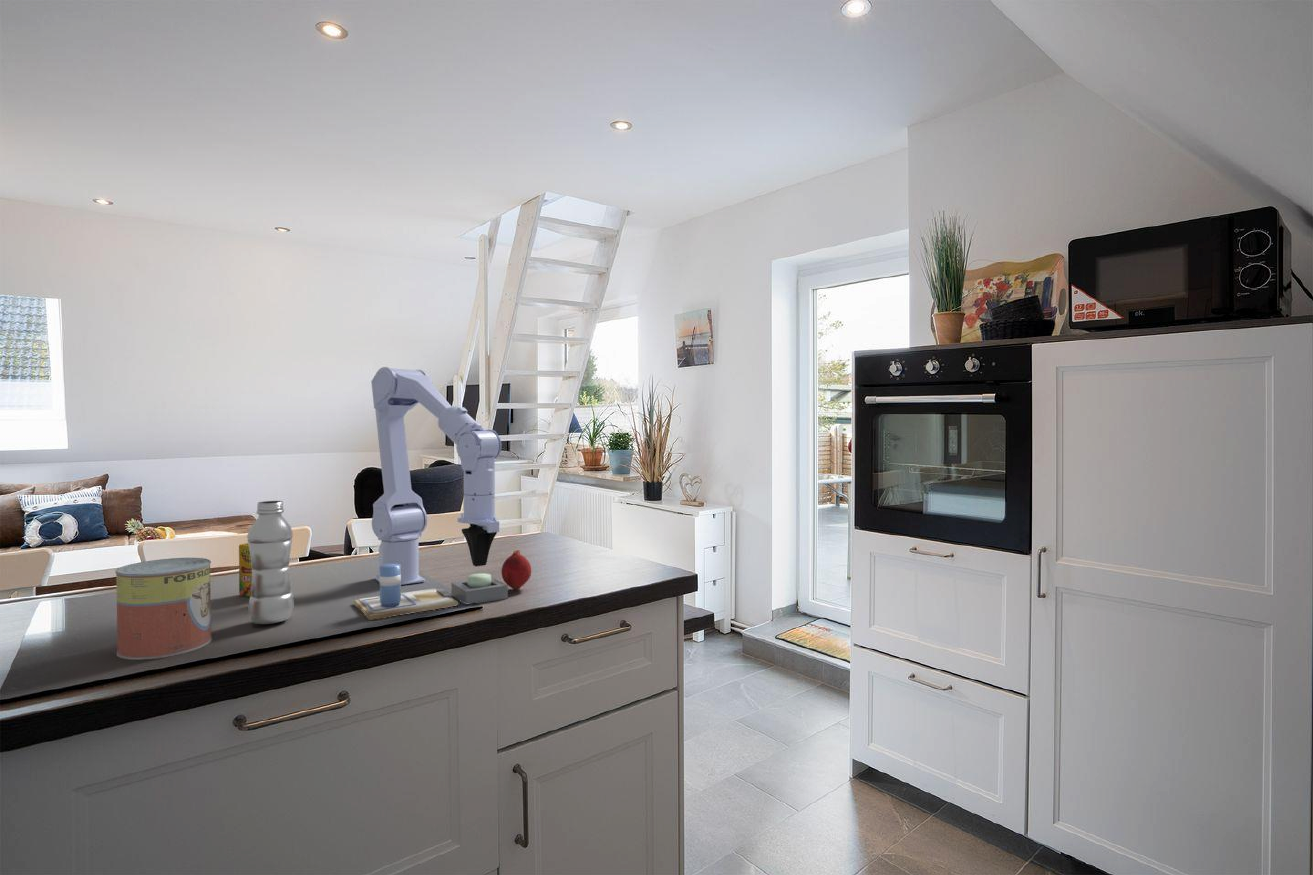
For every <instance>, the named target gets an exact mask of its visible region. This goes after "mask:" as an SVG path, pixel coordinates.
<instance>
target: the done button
mask: <svg viewBox="0 0 1313 875" xmlns="http://www.w3.org/2000/svg"><path fill="white" fill-rule="evenodd" d="M491 577H492V574H490V573H484V572H483V573H472V574H469V575H467V577H466V578H467V579H466V580H467V587H469V588H471V589H473V588H479V587H486V586H491Z"/></svg>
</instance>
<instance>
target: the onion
mask: <svg viewBox="0 0 1313 875" xmlns="http://www.w3.org/2000/svg"><path fill="white" fill-rule="evenodd" d="M500 572H501V578H502V580H503V581H504V582H503V583H504V584H506V585H508V587H510V588H511V589H513V590H515V591H517V590H520V588H522V587H523V586H524V585H525V584H527V582H528V581H529V580H530V578H531V576H532V565H531V564H530V561H529V560H528V559H527V557H525V556H524V555H522V554H521V550H520V549H515V550H514V551H513V553H512V554H511V555H510V556H509V557H507V558H506V559H505V561H504V562H503V564H502V566H501V571H500Z"/></svg>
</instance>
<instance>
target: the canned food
mask: <svg viewBox="0 0 1313 875" xmlns="http://www.w3.org/2000/svg"><path fill="white" fill-rule="evenodd" d="M211 564H212V561H211V559H208V558H204V557H172V558H161V559H154V560H152V559H151V560H147V561H140V562H135V563H130V564H127V565H123V566H121V567H118V568H117V569H115V575H116V630H117V631H116V635H117V637H116V638H117V640H116V642H117V644H116V645H117V650H116V656H117V657H118V658H120V659H124V660H131V661H132V660H133V661H136V660H137V661H140V660H143V661H145V660H155V659H163V658H168V657H169V658H170V657H174V656H178V655H182V654H186V653H190V652H193V651H195V650H198V649H201V648H203V647H205V646H208V645H209V644H210V643H211V642H212V640H213V638H212V628H211V627H212V625H211V623H212V620H211V619H212V618H211V617H212V616H211V614H212V612H211V607H212V605H211Z"/></svg>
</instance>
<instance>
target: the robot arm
mask: <svg viewBox="0 0 1313 875" xmlns="http://www.w3.org/2000/svg"><path fill="white" fill-rule="evenodd" d="M371 390H372V391H371V392H372V399H373V400H372V401H373V408H374V409H375V410H374V411H375V420H376V427H377V438H378V448H379V456H380V457H379V458H380V466H381V476H382V484H383V485H382V486H383V494H381V496H379V497H378V499H377V500H376V501H374V502H373V503H372V507H373V510H372V511H373V513H372V517H371V518H372V519H371V529H372V531H373V534H374V535H375V536H376V537H377V540H378V541H381V542H380V544H379V547H378V574H377V575H374V576H373V579H375V581H377V582H378V583H380V566H381V565H384V564H400V565H401V586H402V585H411V584H417V583H422V582H423V583H424V582H426V579H425V578H423V577H422V576H421V575H420V574H419V570H420V569H419V538H421V537H422V533H423V532H424V531H425V530H426V528H427V524H428V514H427V512H426V510H425V508H424V507H425V506H424V505H423V499H422V497H421V496H420V495H418V494H417V493H415V491H413V489H412V482H411V481H412V480H411V472H410V462H409V453H408V446H407V443H408V442H407V437H406V436H407V435H406V427H405V426H406V425H405V416H406V414H407V413H408V411H411V410H412V409H414V408H415V407H416V406H417V405H418V404H420V405H422V407H424V408H425V409H426V410H427V411H428V412H430V413H431V414H432V415H433V416H434V417H436V418H437V419H438V420H437V426H438V428H439V429H440V430H441V431H442V432H443V433H444V434H445V435H446V436H447V437H448V438H449V439H450V440H451V441H452V442H453V443H454V444H455V446H456V453H457V455H458V457H459V460H460V467H461V469H462V471H463V512H461V513H460V517H458V518H457V522H458V523H461V524H468V525H469V526H468V528H466V527H465V528H461V533H462V535H463V536H464V538H465V541H466V543H467V546H468V550H469V555H470V559H471V562H472V566H474V567H483V566H486V565H487V562H488V559H489V558H488V557H489V555H490V549H491V547H492V544H493V541H494V539H495V537H496V535H497V533H499V532H500V521H499V520H497V516H496V506H495V505H496V459H497V458H498V457H499V456H500V454H501V451H502V441H501V437H500V436H499V434H498V433H497V431H496V430H494V429H485V428H483V427H482V424H480V422H477V421H475V419H474V418H473V417H472V416H470V414H468V409H466V407H465V406H464V407H463V406H457V405H455V406H454V405H453V406H452V405H451V404H450V403H449V402H448V400H447V399H446V398H445V397H444V396H443V395H442V394H441V392H439V391H438V389H437V388H436V386H434V385H433V378H432V377H431V376H430V375H428V374H427V373H426V371H424V370H422V369H416V370H415V369H406V368H405V369H404V368H391V367H388V366H383V367H380V368H379V369H378V370H377V371H376V373H375V375H374V376H373V378H372V380H371ZM396 505H403V506H396ZM394 506H396V507H394Z"/></svg>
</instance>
